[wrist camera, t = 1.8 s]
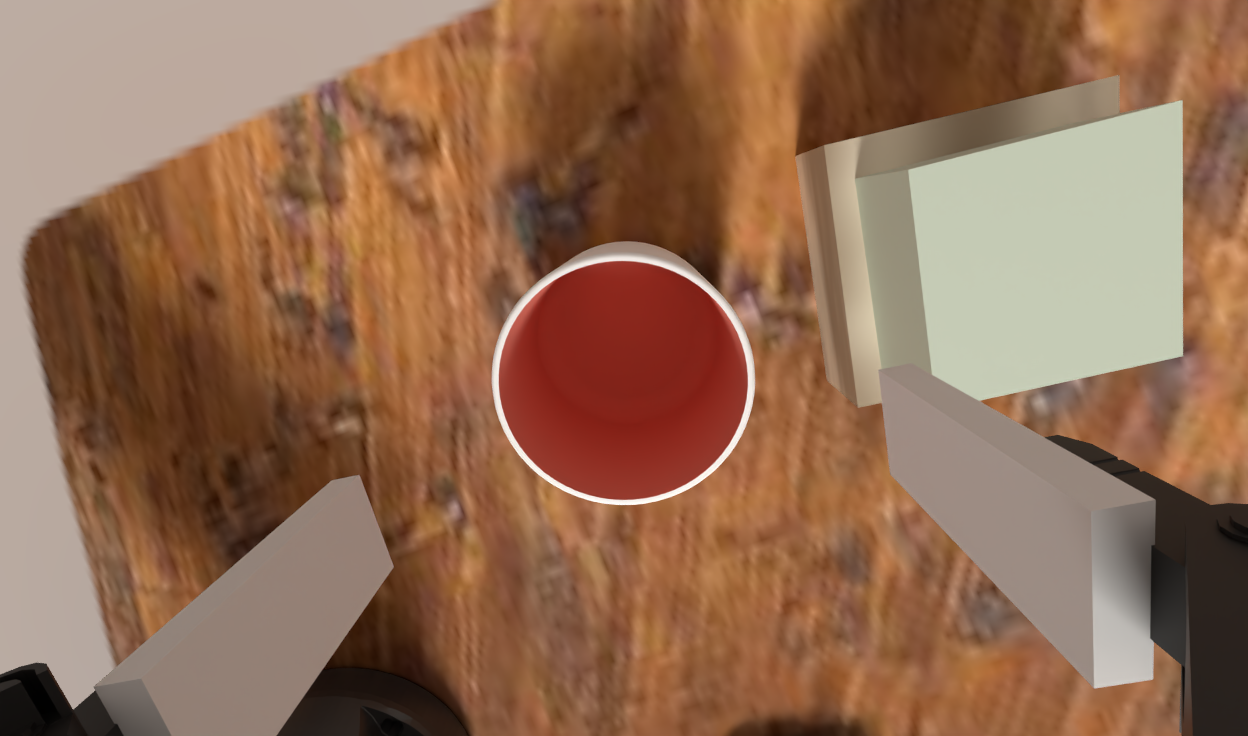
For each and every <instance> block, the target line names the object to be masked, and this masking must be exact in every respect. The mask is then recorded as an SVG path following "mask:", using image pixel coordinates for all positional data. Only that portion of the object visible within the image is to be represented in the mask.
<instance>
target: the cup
mask: <svg viewBox="0 0 1248 736" xmlns="http://www.w3.org/2000/svg"><path fill="white" fill-rule="evenodd" d="M492 390H493V397H494V402H495V407H496V411H497V414H498V417H499V420H500V423H501V425H502V427H503V430H504V432H505V434H506V435H507V437H508V439H509V441H510V443H511V444H512V446H513V447H514V448H515V450H516V451H517V453H518V454H519V455H520V457H521V458H522V459H523V460H524V461H525V462H526V463H527V464H528V465H529V466H530V467H531V468H532V469H533V470H534V471H535V472H536V473H537V474H539V475H540V476H541V477H542V478H544V479H545V480H547V481H548V482H550V483H551V484H553V485H554V486H556V487H558V488H560V489H562V490H563V491H565V492H568V493H570V494H572V495H575V496H577V497H580V498H583V499H587V500H590V501H594V502H599V503H605V504H615V505H635V504H644V503H650V502H654V501H659V500H662V499H665V498H669V497H672V496H674V495H677V494H679V493H681V492H683V491H685V490H687V489H689V488H691V487H693V486H694V485H696V484H698V483H699V482H700V481H702V480H703V479H705V478H706V477H707V476H709V475H710V474H711V473H712V472H713V471H714V470H716V469H717V468H718V467H719V466H720V464H721V463H722V462H723V461H724V460H725V459H726V458H727V457H728V455H729V454H730V453H731V451H732V450H733V448H734V447H735V446H736V444H737V442H738V441H739V439H740V437H741V435H742V433H743V431H744V429H745V427H746V424H747V421H748V419H749V416H750V412H751V408H752V404H753V398H754V391H755V369H754V360H753V355H752V350H751V346H750V343H749V340H748V337H747V334H746V332H745V330H744V327H743V325H742V323H741V321H740V320H739V318H738V316H737V314H736V313H735V311H734V310H733V308H732V307H731V305H730V304H729V303H728V302H727V300H726V299H725V298H724V297H723V296H722V295H721V294H720V293H719V292H718V291H717V290H716V289H715V288H714V287H713V286H712V285H711V284H710V283H709V282H708V281H707V280H706V279H705V278H704V277H703V276H702V275H701V274H700V273H699V272H698V271H697V270H696V269H695V268H693V267H692V266H691V265H690V264H689V263H688V262H686V261H685V260H684V259H682V258H681V257H679V256H678V255H676V254H674V253H672V252H670V251H668V250H666V249H664V248H661V247H658V246H655V245H652V244H647V243H642V242H632V241H622V242H612V243H607V244H602V245H599V246H596V247H593V248H590V249H588V250H586V251H584V252H582V253H580V254H578V255H576V256H575V257H573V258H572V259H570V260H569V261H567V262H566V263H564V264H563V265H561V266H560V267H558V268H557V269H555V270H554V271H552V272H551V273H549V274H548V275H546V276H545V277H543V278H542V279H541V280H539V281H538V282H537V283H536V284H535V285H533V286H532V287H531V288H530V289H529V290H528V291H527V292H526V293H525V294H524V295H523V297H522V298H521V299H520V300H519V301H518V303H517V304H516V305H515V307H514V308H513V310H512V311H511V313H510V314H509V316H508V318H507V320H506V321H505V323H504V325H503V328H502V330H501V333H500V335H499V338H498V341H497V344H496V348H495V352H494V357H493V365H492Z"/></svg>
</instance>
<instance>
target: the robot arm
mask: <svg viewBox="0 0 1248 736" xmlns="http://www.w3.org/2000/svg"><path fill="white" fill-rule="evenodd" d="M878 372H879V381H880V389H881V398H882V407H883V415H884V424H885V433H886V441H887V450H888V459H889V467H890V474H891V475H892V476H893V478H894V479H895V480H896V481H897V482H898V483H899V484H900V485H901V486H902V487H903V488H904V489H905V490H906V491H907V492H908V493H909V494H910V495H911V496H912V498H913V499H914V500H915V501H916V502H917V503H918V504H919V505H920V506H921V507H922V508H923V509H924V510H925V511H926V512H927V513H928V514H929V515H930V516H931V517H932V519H933V520H934V521H935V522H936V523H937V524H938V525H939V526H940V527H941V528H942V529H943V530H944V531H945V532H946V533H947V534H948V535H949V536H950V537H951V538H952V540H953V541H954V542H955V543H956V544H957V545H958V546H959V547H960V548H961V549H962V550H963V551H964V552H965V553H966V554H967V555H968V556H969V557H970V558H971V560H972V561H973V562H974V563H975V564H976V565H977V566H978V567H979V568H980V569H981V570H982V571H983V572H984V573H985V574H986V575H987V576H988V577H989V578H990V579H991V581H992V582H993V583H994V584H995V585H996V586H997V587H998V588H999V589H1000V590H1001V591H1002V592H1003V593H1004V594H1005V595H1006V596H1007V597H1008V598H1009V599H1010V600H1011V602H1012V603H1013V604H1014V605H1015V606H1016V607H1017V608H1018V609H1019V610H1020V611H1021V612H1022V613H1023V614H1024V615H1025V616H1026V617H1027V618H1028V619H1029V620H1030V622H1031V623H1032V624H1033V625H1034V626H1035V627H1036V628H1037V629H1038V630H1039V631H1040V632H1041V633H1042V634H1043V635H1044V636H1045V637H1046V638H1047V639H1048V640H1049V641H1050V643H1051V644H1052V645H1053V646H1054V647H1055V648H1056V649H1057V650H1058V651H1059V652H1060V653H1061V654H1062V655H1063V656H1064V657H1065V658H1066V659H1067V660H1068V661H1069V663H1070V664H1071V665H1072V666H1073V667H1074V668H1075V669H1076V670H1077V671H1078V672H1079V673H1080V674H1081V675H1082V676H1083V677H1084V678H1085V679H1086V680H1087V681H1088V682H1089V684H1090V685H1091V686H1092V687H1093V688H1100V687H1107V686H1113V685H1120V684H1127V683H1133V682H1140V681H1146V680H1153V649H1154V642H1155V643H1156V644H1157V645H1159V646H1160V647H1161V648H1162V649H1163V650H1164V651H1166V652H1167V653H1168V654H1169V655H1170V656H1172V657H1173V658H1174V659H1175V660H1176V661H1178V662H1179V663H1180V664H1181V697H1180V730H1179V732H1180V733H1182V736H1248V504H1233V503H1226V504H1217V505H1209V504H1207V503H1205V502H1203V501H1202V500H1200V499H1198V498H1196V497H1194V496H1192V495H1190V494H1188V493H1186V492H1184V491H1182V490H1180V489H1178V488H1176V487H1174V486H1172V485H1170V484H1169V483H1167V482H1165V481H1163V480H1161V479H1159V478H1157V477H1155V476H1153V475H1151V474H1149V473H1147V472H1145V471H1142V472H1140V470H1139V468H1137V467H1135V466H1134V465H1132V464H1130V463H1128V462H1126V461H1124V460H1118V459H1117V457H1116V456H1114V455H1112V454H1110V453H1108V452H1106V451H1104V450H1102V449H1100V448H1099V447H1097V446H1095V445H1093V444H1090V443H1086V442H1083V441H1079V440H1075V439H1071V438H1068V437H1064V436H1060V435H1055V436H1050V437H1042V436H1041V435H1039V434H1037V433H1035V432H1033V431H1032V430H1030V429H1028V428H1026V427H1024V426H1023V425H1021V424H1019V423H1017V422H1016V421H1014V420H1012V419H1010V418H1008V417H1007V416H1005V415H1003V414H1001V413H999V412H998V411H996V410H994V409H992V408H991V407H989V406H987V405H985V404H983V403H982V402H980V401H978V400H976V399H974V398H973V397H971V396H969V395H967V394H965V393H964V392H962V391H960V390H958V389H957V388H955V387H953V386H951V385H949V384H948V383H946V382H944V381H942V380H940V379H939V378H937V377H935V376H933V375H931V374H930V373H928V372H926V371H924V370H923V369H921V368H919V367H917V366H915V365H914V364H912V363H909V364H904V365H900V366H895V367H890V368H885V369H880V370H878ZM393 567H394V566H393V563H392V560H391V558H390V555H389V552H388V550H387V547H386V544H385V542H384V539H383V536H382V534H381V531H380V528H379V526H378V523H377V520H376V518H375V515H374V512H373V510H372V507H371V504H370V502H369V499H368V496H367V494H366V491H365V488H364V486H363V483H362V480H361V478H360V475H356V476H351V477H346V478H341V479H336V480H331V481H330V482H329V483H328V484H327V485H326V486H325V487H323V488H322V489H321V490H320V491H319V492H318V493H316V494H315V495H314V496H313V497H312V498H311V499H310V500H308V501H307V502H306V503H305V504H304V505H303V506H301V507H300V508H299V509H298V510H297V511H296V512H295V513H293V514H292V515H291V516H290V517H289V518H288V519H286V520H285V521H284V522H283V523H282V524H281V525H280V526H278V527H277V528H276V529H275V530H274V531H273V532H271V533H270V534H269V535H268V536H267V537H266V538H265V539H263V540H262V541H261V542H260V543H259V544H258V545H257V546H255V547H254V548H253V549H252V550H251V551H250V552H248V553H247V554H246V555H245V556H244V557H243V558H242V559H240V560H239V561H238V562H237V563H236V564H235V565H233V566H232V567H231V568H230V569H229V570H228V571H227V572H225V573H224V574H223V575H222V576H221V577H220V578H218V579H217V580H216V581H215V582H214V583H213V584H212V585H210V586H209V587H208V588H207V589H206V590H205V591H203V592H202V593H201V594H200V595H199V596H198V597H197V598H195V599H194V600H193V601H192V602H191V603H190V604H189V605H187V606H186V607H185V608H184V609H183V610H182V611H180V612H179V613H178V614H177V615H176V616H175V617H174V618H172V619H171V620H170V621H169V622H168V623H167V624H165V625H164V626H163V627H162V628H161V629H160V630H159V631H157V632H156V633H155V634H154V635H153V636H152V637H150V638H149V639H148V640H147V641H146V642H145V643H144V644H142V645H141V646H140V647H139V648H138V649H137V650H135V651H134V652H133V653H132V654H131V655H130V656H129V657H127V658H126V659H125V660H124V661H123V662H122V663H121V664H119V665H118V666H117V667H116V668H115V669H114V670H112V671H111V672H110V673H109V674H108V675H107V676H106V677H104V678H103V679H102V680H101V681H100V682H99V683H98V684H96V685H95V686H94V689H95V691H94V692H93V693H92V694H91V695H90V696H89V697H88V698H86V699H85V700H84V701H83V702H82V703H81V704H79V705H78V706H77V707H76V708H75V709H74V710H73V709H72V707H71V705H70V704H69V702H68V700H67V699H66V697H65V695H64V693H63V692H62V690H61V689H60V687H59V685H58V683H57V681H56V680H55V678H54V676H53V675H52V673H51V671H50V670H49V668H48V666H47V664H44V663H33V664H30V665H26V666H21V667H18V668H16V669H13V670H11V671H8V672H6V673H4V674H1V675H0V736H467V734H466V732H465V730H464V728H463V727H462V725H461V723H460V722H459V721H458V719H457V718H456V717H455V715H454V714H453V713H452V712H451V711H450V710H449V709H448V708H447V707H446V706H445V705H444V704H443V703H442V702H441V701H440V700H439V699H437V698H436V697H435V696H433V695H432V694H431V693H429V692H428V691H426V690H425V689H423V688H421V687H420V686H418V685H416V684H414V683H412V682H410V681H408V680H405V679H403V678H400V677H398V676H395V675H392V674H388V673H385V672H380V671H376V670H370V669H362V668H336V669H328V670H323V671H322V669H323V668H324V667H325V665H326V664H327V662H328V661H329V659H330V658H331V657H332V655H333V654H334V652H335V651H336V649H337V648H338V646H339V645H340V644H341V642H342V641H343V639H344V638H345V636H346V635H347V634H348V632H349V631H350V629H351V628H352V626H353V625H354V624H355V622H356V621H357V619H358V618H359V616H360V615H361V613H362V612H363V611H364V609H365V608H366V606H367V605H368V603H369V602H370V601H371V599H372V598H373V596H374V595H375V593H376V592H377V590H378V589H379V588H380V586H381V585H382V583H383V582H384V580H385V579H386V578H387V576H388V575H389V573H390V572H391V570H392V569H393Z"/></svg>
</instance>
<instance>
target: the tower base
mask: <svg viewBox="0 0 1248 736" xmlns="http://www.w3.org/2000/svg"><path fill="white" fill-rule="evenodd" d="M1119 113H1120V111H1119V75H1118V76H1113V77H1109V78H1105V79H1101V80H1097V81H1092V82H1088V83H1084V84H1080V85H1075V86H1071V87H1067V88H1063V89H1059V90H1054V91H1050V92H1046V93H1042V94H1038V95H1033V96H1029V97H1025V98H1021V99H1017V100H1012V101H1008V102H1004V103H1000V104H996V105H991V106H987V107H983V108H979V109H975V110H970V111H966V112H962V113H958V114H954V115H949V116H945V117H941V118H937V119H933V120H928V121H924V122H920V123H916V124H912V125H907V126H903V127H899V128H895V129H890V130H886V131H882V132H878V133H874V134H869V135H865V136H861V137H857V138H853V139H848V140H844V141H840V142H836V143H832V144H827V145H823V146H821V147H818V148H816V149H813V150H810V151H808V152H805V153H802V154H800V155H797V156H795V157H796V164H797V172H798V179H799V186H800V193H801V200H802V207H803V214H804V221H805V228H806V235H807V242H808V249H809V256H810V263H811V270H812V277H813V284H814V291H815V299H816V306H817V313H818V320H819V327H820V334H821V341H822V348H823V355H824V362H825V369H826V376H827V381H828V382H829V383H830V384H832V385H833V386H834V387H835V388H836V389H837V390H838V391H840V392H841V393H842V394H843V395H844V396H845V397H846V398H848V399H849V400H850V401H851V402H852V403H853V404H854V405H856V406H857V407H863V406H868V405H873V404H878V403H882V398H881V389H880V381H879V372H878V370H880V369H881V362H880V355H879V348H878V340H877V333H876V326H875V319H874V312H873V305H872V298H871V290H870V283H869V276H868V269H867V262H866V255H865V248H864V240H863V233H862V226H861V219H860V212H859V205H858V198H857V190H856V183H855V179H856V178H860V177H863V176H867V175H871V174H875V173H879V172H883V171H887V170H891V169H895V168H899V167H903V166H907V165H911V164H914V163H918V162H922V161H926V160H930V159H934V158H938V157H942V156H946V155H950V154H954V153H958V152H962V151H966V150H969V149H973V148H977V147H981V146H985V145H989V144H993V143H997V142H1001V141H1005V140H1009V139H1013V138H1017V137H1020V136H1024V135H1028V134H1032V133H1036V132H1040V131H1044V130H1048V129H1052V128H1056V127H1060V126H1064V125H1068V124H1071V123H1076V122H1081V121H1086V120H1090V119H1095V118H1100V117H1105V116H1109V115H1114V114H1119Z"/></svg>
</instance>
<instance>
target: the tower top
mask: <svg viewBox="0 0 1248 736" xmlns="http://www.w3.org/2000/svg"><path fill="white" fill-rule="evenodd" d="M855 183H856V190H857V198H858V205H859V212H860V219H861V226H862V233H863V240H864V248H865V255H866V262H867V269H868V276H869V283H870V290H871V298H872V305H873V312H874V319H875V326H876V333H877V340H878V348H879V355H880V362H881V369H885V368H890V367H895V366H900V365H904V364H909V363H912V364H914V365H915V366H917V367H919V368H921V369H923V370H924V371H926V372H928V373H930V374H931V375H933V376H935V377H937V378H939V379H940V380H942V381H944V382H946V383H948V384H949V385H951V386H953V387H955V388H957V389H958V390H960V391H962V392H964V393H965V394H967V395H969V396H971V397H973V398H974V399H976V400H978V401H980V400H984V399H989V398H993V397H998V396H1003V395H1007V394H1012V393H1016V392H1021V391H1025V390H1030V389H1035V388H1039V387H1044V386H1048V385H1053V384H1057V383H1062V382H1067V381H1071V380H1076V379H1080V378H1085V377H1090V376H1094V375H1099V374H1103V373H1108V372H1112V371H1117V370H1122V369H1126V368H1131V367H1135V366H1140V365H1144V364H1149V363H1154V362H1158V361H1163V360H1167V359H1172V358H1176V357H1181V356H1183V134H1182V100H1180V101H1176V102H1171V103H1166V104H1162V105H1157V106H1152V107H1147V108H1143V109H1138V110H1133V111H1128V112H1124V113H1119V114H1114V115H1109V116H1105V117H1100V118H1095V119H1090V120H1086V121H1081V122H1076V123H1071V124H1068V125H1064V126H1060V127H1056V128H1052V129H1048V130H1044V131H1040V132H1036V133H1032V134H1028V135H1024V136H1020V137H1017V138H1013V139H1009V140H1005V141H1001V142H997V143H993V144H989V145H985V146H981V147H977V148H973V149H969V150H966V151H962V152H958V153H954V154H950V155H946V156H942V157H938V158H934V159H930V160H926V161H922V162H918V163H914V164H911V165H907V166H903V167H899V168H895V169H891V170H887V171H883V172H879V173H875V174H871V175H867V176H863V177H860V178H856V179H855Z"/></svg>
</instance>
